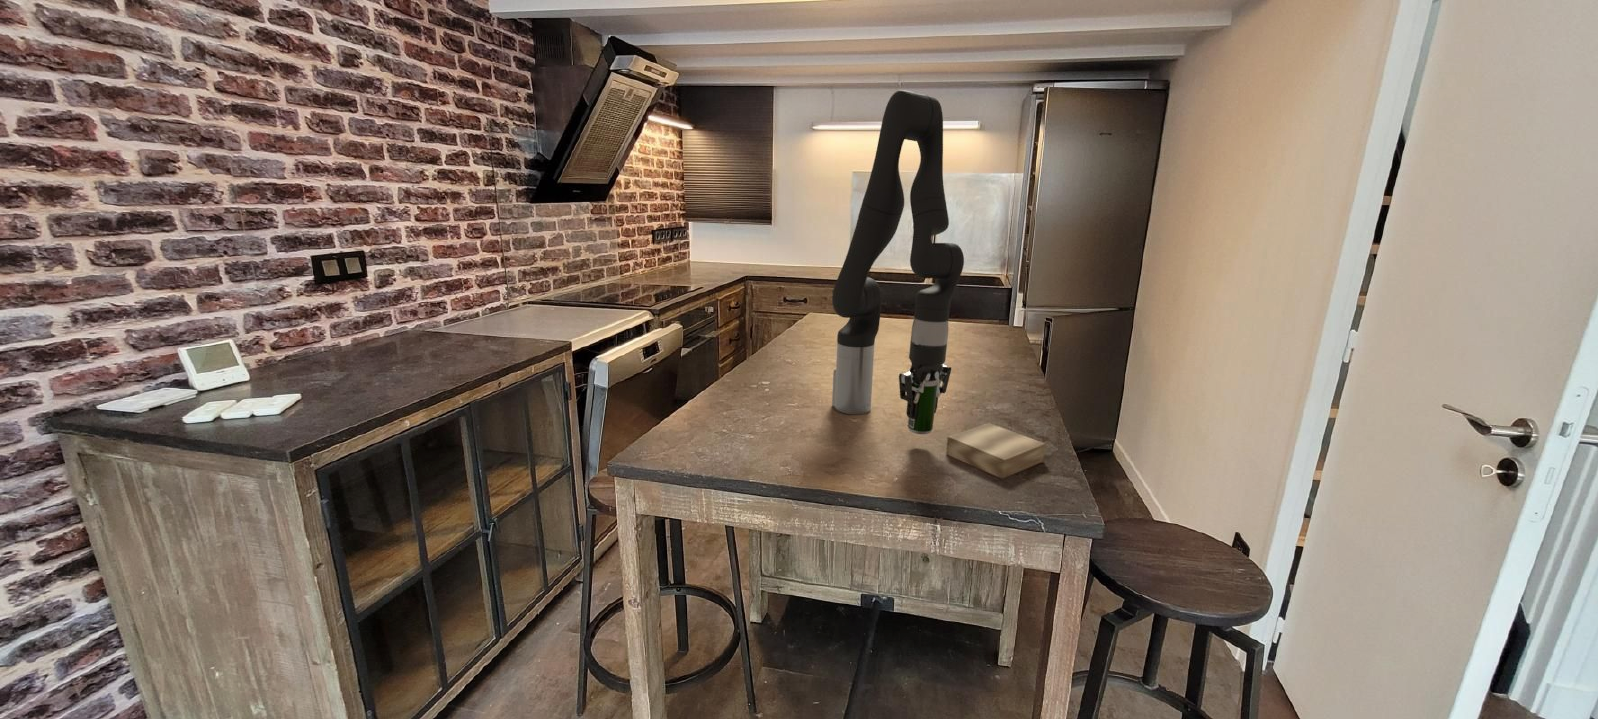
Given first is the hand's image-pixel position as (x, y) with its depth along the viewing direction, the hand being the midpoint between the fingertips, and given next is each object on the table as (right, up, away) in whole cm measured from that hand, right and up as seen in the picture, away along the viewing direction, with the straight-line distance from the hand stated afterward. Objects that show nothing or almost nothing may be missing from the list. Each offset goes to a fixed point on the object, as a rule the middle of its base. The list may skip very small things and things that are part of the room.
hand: (921, 414), depth 133 cm
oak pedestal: (+15, -9, -3) cm, 17 cm away
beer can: (0, -4, +1) cm, 4 cm away
